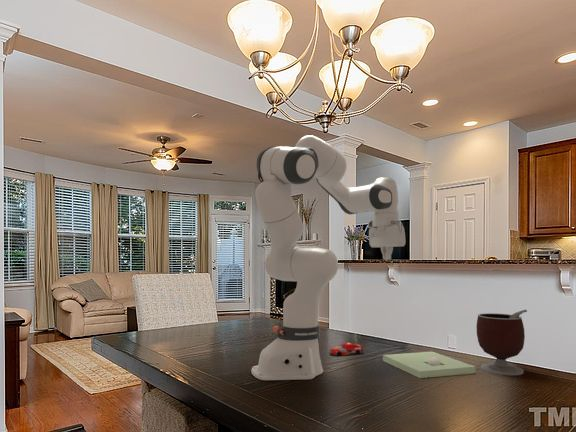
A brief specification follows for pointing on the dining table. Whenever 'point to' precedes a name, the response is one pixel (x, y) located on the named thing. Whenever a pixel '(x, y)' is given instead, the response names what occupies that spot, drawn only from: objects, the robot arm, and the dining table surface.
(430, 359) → the ball
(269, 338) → the dining table surface
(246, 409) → the dining table surface
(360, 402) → the dining table surface
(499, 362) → the mate gourd
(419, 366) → the mat
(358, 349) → the race car
